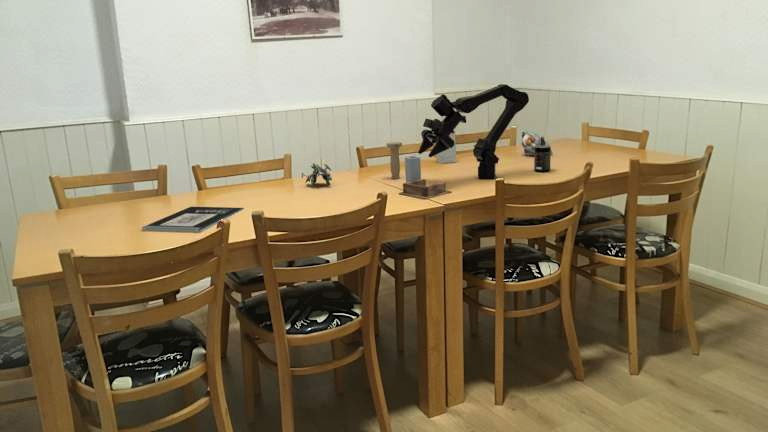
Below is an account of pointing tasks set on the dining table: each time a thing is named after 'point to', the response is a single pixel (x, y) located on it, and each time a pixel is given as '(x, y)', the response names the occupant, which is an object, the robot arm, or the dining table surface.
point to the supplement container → (542, 158)
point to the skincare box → (448, 153)
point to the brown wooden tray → (423, 189)
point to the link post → (412, 168)
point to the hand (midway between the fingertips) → (424, 155)
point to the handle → (395, 159)
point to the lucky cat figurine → (532, 142)
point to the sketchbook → (192, 219)
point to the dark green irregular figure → (319, 171)
